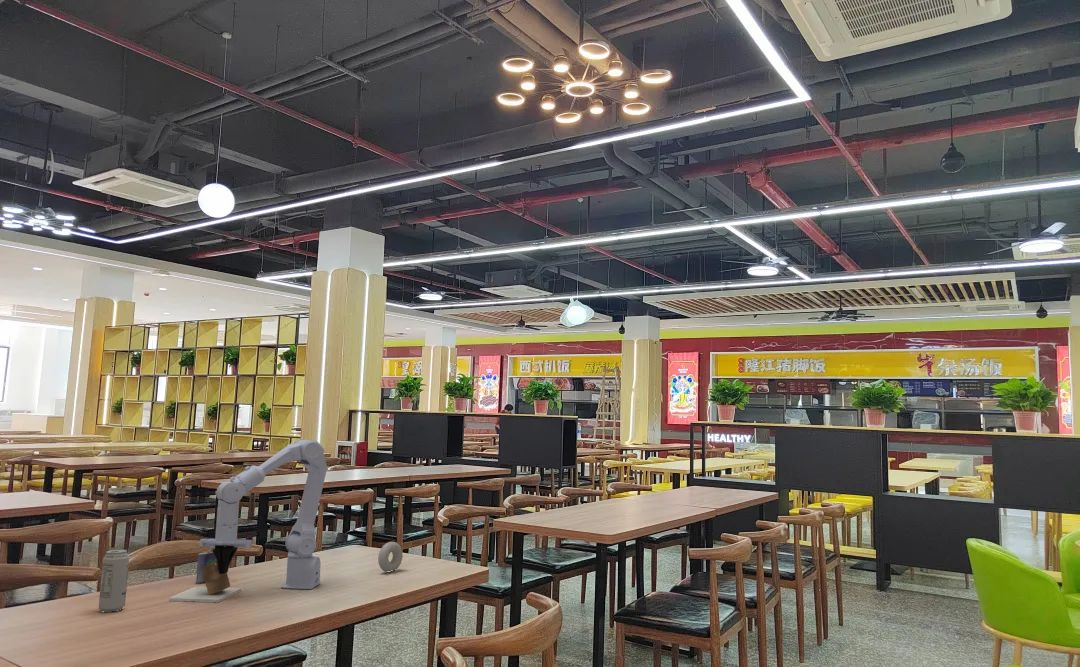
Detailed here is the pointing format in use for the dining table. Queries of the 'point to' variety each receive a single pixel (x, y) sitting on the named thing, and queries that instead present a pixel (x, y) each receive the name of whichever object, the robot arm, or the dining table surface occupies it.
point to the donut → (384, 555)
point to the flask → (204, 563)
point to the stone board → (204, 595)
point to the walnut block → (214, 578)
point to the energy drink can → (114, 580)
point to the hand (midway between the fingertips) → (223, 573)
